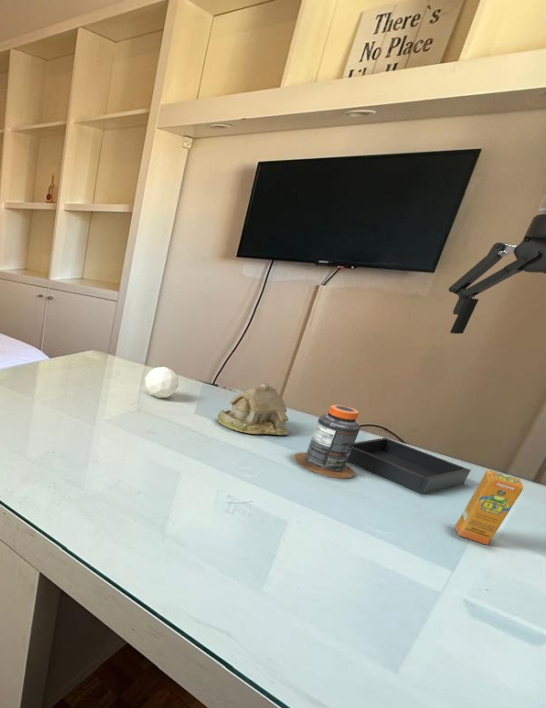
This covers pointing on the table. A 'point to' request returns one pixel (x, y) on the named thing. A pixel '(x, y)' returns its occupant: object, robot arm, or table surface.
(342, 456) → the pill bottle
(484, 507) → the supplement box
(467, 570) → the table surface
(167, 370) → the geometric ball
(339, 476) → the coaster
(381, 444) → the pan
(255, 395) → the ceramic model
